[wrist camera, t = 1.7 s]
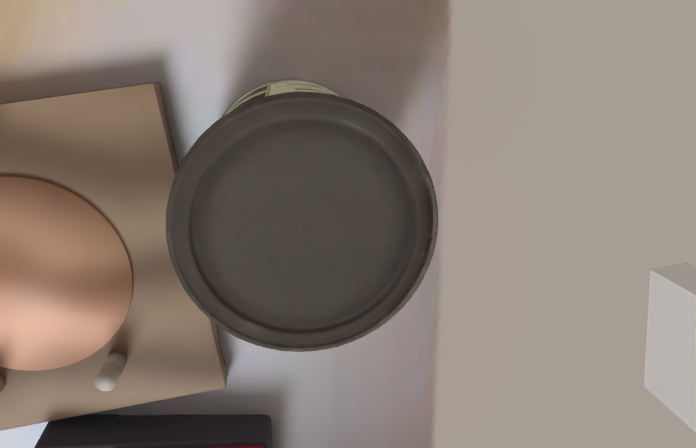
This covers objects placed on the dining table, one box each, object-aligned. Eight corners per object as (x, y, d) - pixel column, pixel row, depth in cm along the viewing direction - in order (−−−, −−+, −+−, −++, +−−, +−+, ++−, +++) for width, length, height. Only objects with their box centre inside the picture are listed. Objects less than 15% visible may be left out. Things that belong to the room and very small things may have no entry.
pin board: (227, 375, 37) (222, 411, 33) (-73, 431, 35) (-115, 476, 31) (158, 82, 31) (142, 84, 27) (-209, 133, 29) (-282, 144, 25)
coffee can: (236, 257, 35) (210, 381, 21) (189, 100, 31) (124, 128, 18) (388, 221, 35) (456, 318, 22) (357, 62, 32) (415, 62, 19)
